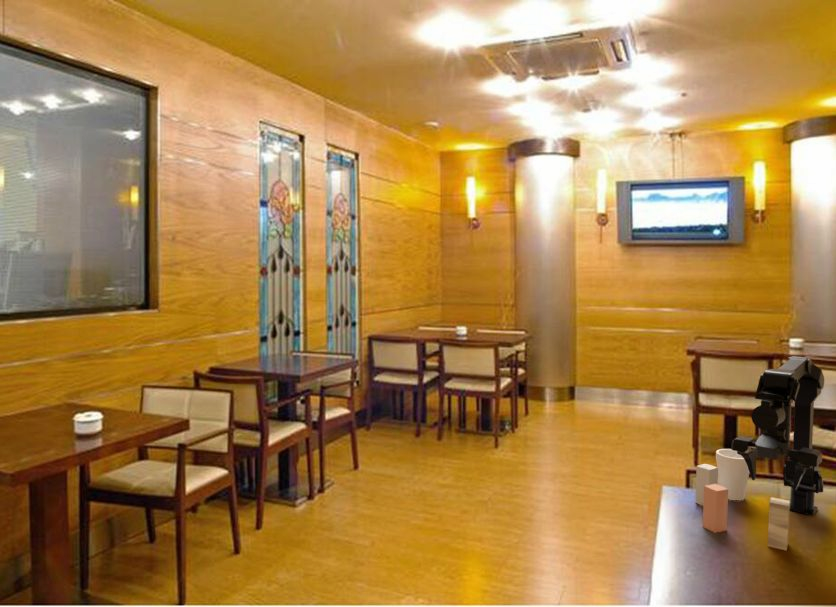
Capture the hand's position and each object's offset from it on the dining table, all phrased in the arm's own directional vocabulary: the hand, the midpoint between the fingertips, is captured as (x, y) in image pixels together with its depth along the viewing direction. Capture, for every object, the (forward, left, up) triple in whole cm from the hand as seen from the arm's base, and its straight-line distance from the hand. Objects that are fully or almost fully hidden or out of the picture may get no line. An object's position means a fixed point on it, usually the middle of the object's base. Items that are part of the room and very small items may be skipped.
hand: (773, 484), depth 154 cm
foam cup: (-24, -17, -15) cm, 33 cm away
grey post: (-13, -20, -15) cm, 28 cm away
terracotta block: (+2, -13, -15) cm, 20 cm away
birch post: (+1, +2, -15) cm, 15 cm away
